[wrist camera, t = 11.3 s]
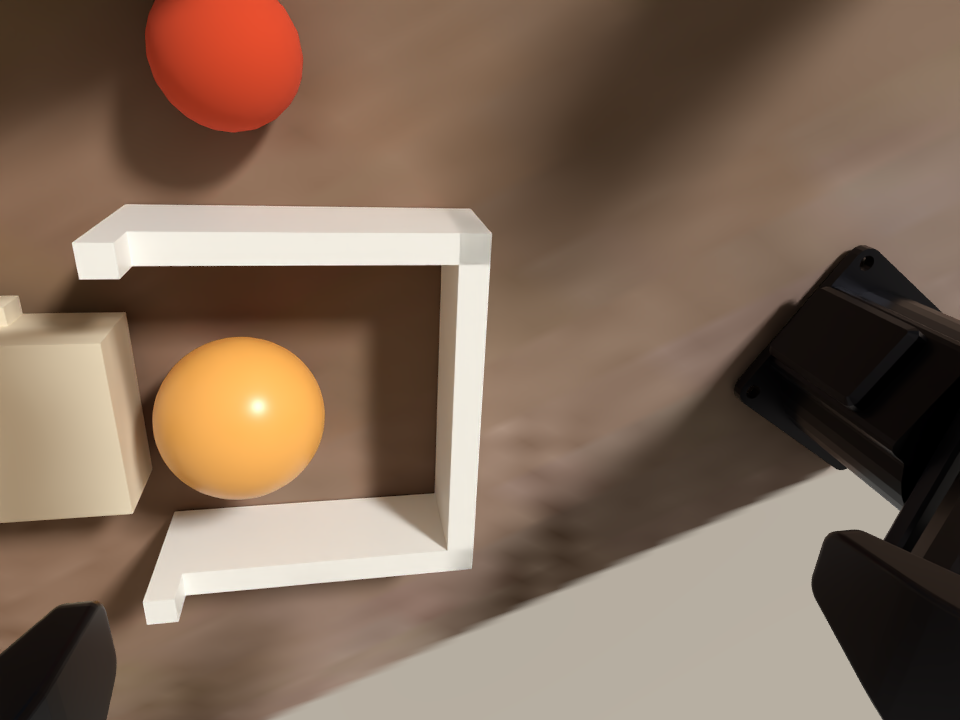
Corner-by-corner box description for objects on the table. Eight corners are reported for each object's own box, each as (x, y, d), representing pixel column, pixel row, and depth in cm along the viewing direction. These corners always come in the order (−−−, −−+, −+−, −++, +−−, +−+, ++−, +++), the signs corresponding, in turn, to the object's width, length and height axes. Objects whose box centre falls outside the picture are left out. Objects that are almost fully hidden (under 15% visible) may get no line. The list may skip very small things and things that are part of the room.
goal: (470, 208, 19) (500, 244, 16) (456, 510, 24) (477, 591, 20) (125, 203, 18) (71, 242, 14) (177, 531, 22) (147, 624, 18)
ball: (81, 412, 17) (196, 349, 21) (182, 551, 18) (274, 466, 22) (195, 347, 15) (297, 290, 19) (301, 505, 16) (378, 421, 20)
